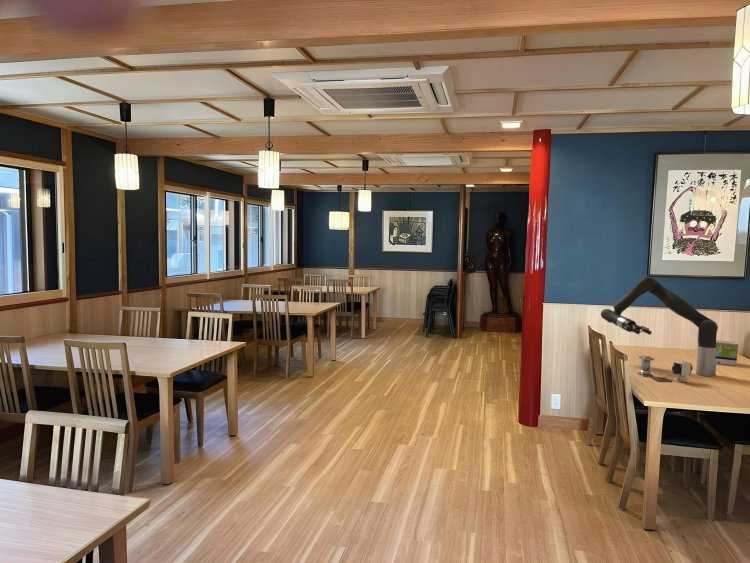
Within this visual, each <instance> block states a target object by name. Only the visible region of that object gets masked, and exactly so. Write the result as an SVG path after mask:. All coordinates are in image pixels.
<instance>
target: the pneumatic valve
mask: <svg viewBox="0 0 750 563" xmlns="http://www.w3.org/2000/svg"><path fill="white" fill-rule="evenodd" d="M693 368H694V367H693V363H692V362H689V361H688V362H687V361H684V360H682V361H677V362H673V365H672V366H671V371H672V374H674V375H677V376H676V377H677V378H676V382H679V383H686V382H687V375H692V372H693Z"/></svg>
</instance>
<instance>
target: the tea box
mask: <svg viewBox="0 0 750 563" xmlns="http://www.w3.org/2000/svg"><path fill="white" fill-rule="evenodd" d="M738 350H739V344H738V343H737V342H735V341H728V340H718V339H716V353H715V360H716V361H717V362H716V365H724V364H725V366H732V365H736V366H737V363H738Z"/></svg>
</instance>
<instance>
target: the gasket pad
mask: <svg viewBox="0 0 750 563" xmlns="http://www.w3.org/2000/svg"><path fill="white" fill-rule="evenodd" d="M649 378H650V379H651V380H653V381H655V380H656V381H655V382H657V383H658V382H661V383H662V382H663V383H672V382H673V381H672V380H670V379H668V378H666V377H661V376H660V377H659V376H658V377H656V376H653V377H649Z"/></svg>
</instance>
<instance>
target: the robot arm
mask: <svg viewBox="0 0 750 563" xmlns="http://www.w3.org/2000/svg"><path fill="white" fill-rule="evenodd" d="M646 293H651V294H652V295H653V296H655V297H656V298H658V299H659V300H660V301H661V303H663V305H665V306H666V308H668V309H669V310H670V311H671V312H673V313H675V314H676V315H678V316H680V317H681V318H684V319H686V320H688V321H690V322H691V323H692V324H693V325H694V326H696V327H697V328H698V334H697V353H696V354H697V356H696V369H695V374H696V375H698V376H702V377H703V376H704V377H716V375H717V374H716V373H717V364H716V362H717V361H716V360H715V353H716V340H717V334H718V333H717V332H718V330H719V325H718V323H717V322H716V321H714V320H713V319H711V318H710V317H707V316H706V315H704V314H703V313H701V312H699V311H698V310H697V309H696V308H694V307H693V306H692V305H691V304H690V303H688V302H687V301H686V300H684V299H683V298H682V297H680V296H678V295H677V294H675V293H674V292H673V291H671V290H669V289H668V288H666V287H664V286H663V285H662V284H661V283H660V282H658V280H656V279H655V278H654V277H653V276H648V275H647V276H643V277H641V279H640V280H639V281H638V282H637V284H635V286H634V287H633V288H632V289H631V290H630V291H628V293H626V294H625V295H623V296H622V297H621V298H619V300H617V301H616V302H615V303H614V304H613V309H614V310H612V309H610V308H603V310H601V312H600V317H601V318H602V319H603V320H604V321H606V322H607V323H611V324H613V325H615V326H617V327H618V328H620V329H622V330H624V331H626V332H629V333H635V334H637V335H640V333H645V334H647V335H650V336H651V335H652V331H651V330H650V328H649V327H646V326H644V325H638V324H637V323H636V321H635V320H633V319H630V318H628V317H627V316H624V315H623V316H622V313H623V312H624V311H626V310H628V308H629V307H630V306H631V305H632V304H633V303H634V302H635V301H636V300H638V299H639V297H641V296H642V295H644V294H646Z"/></svg>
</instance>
